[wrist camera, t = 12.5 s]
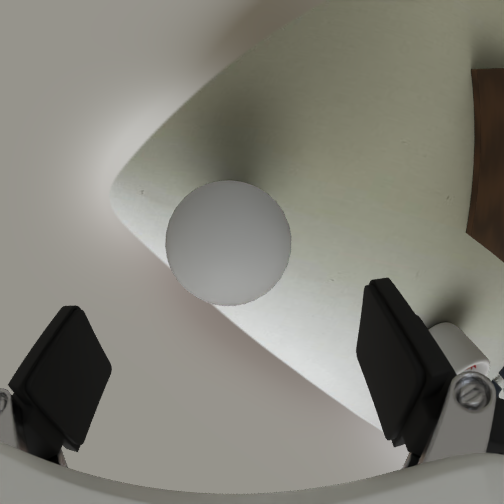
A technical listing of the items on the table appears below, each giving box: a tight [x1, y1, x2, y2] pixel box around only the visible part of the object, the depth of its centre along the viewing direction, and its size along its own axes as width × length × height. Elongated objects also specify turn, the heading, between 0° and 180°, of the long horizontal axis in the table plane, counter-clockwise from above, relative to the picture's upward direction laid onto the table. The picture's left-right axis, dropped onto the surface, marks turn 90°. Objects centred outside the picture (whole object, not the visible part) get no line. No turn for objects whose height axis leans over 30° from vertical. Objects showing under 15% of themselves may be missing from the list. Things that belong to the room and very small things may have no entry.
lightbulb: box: [165, 180, 291, 306], centre depth 17 cm, size 6×6×11 cm
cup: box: [429, 322, 490, 377], centre depth 26 cm, size 11×8×8 cm
